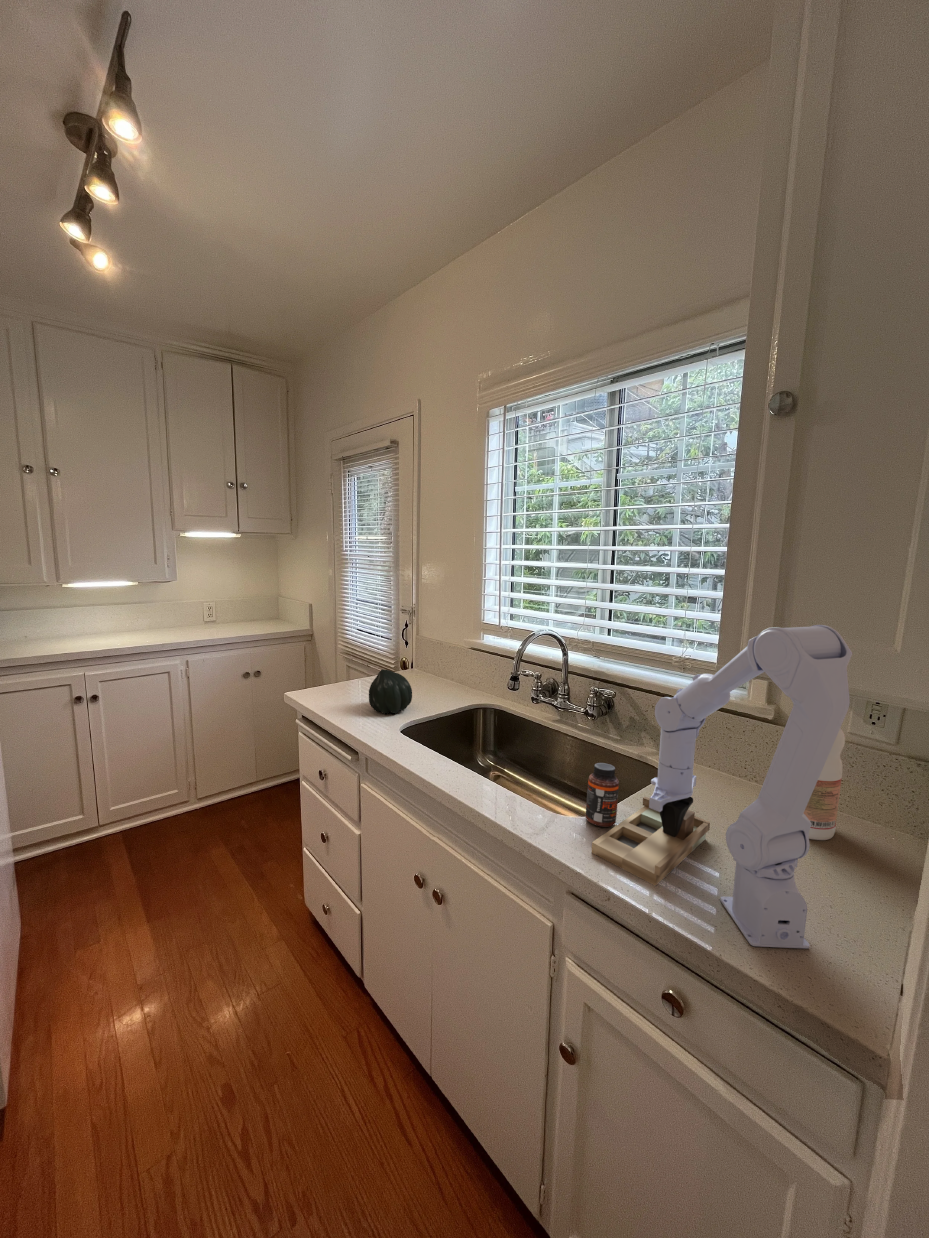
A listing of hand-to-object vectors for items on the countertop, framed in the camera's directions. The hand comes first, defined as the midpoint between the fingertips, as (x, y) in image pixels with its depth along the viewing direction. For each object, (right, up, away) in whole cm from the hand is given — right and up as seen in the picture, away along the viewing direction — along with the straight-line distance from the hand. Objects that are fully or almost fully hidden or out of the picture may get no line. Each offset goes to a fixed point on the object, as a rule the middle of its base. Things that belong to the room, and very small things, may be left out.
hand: (670, 833), depth 90 cm
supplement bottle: (-10, -2, +9) cm, 14 cm away
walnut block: (+2, -1, +2) cm, 4 cm away
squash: (-62, +8, +77) cm, 99 cm away
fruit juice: (+30, -3, +8) cm, 31 cm away
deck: (-3, -3, +1) cm, 5 cm away
